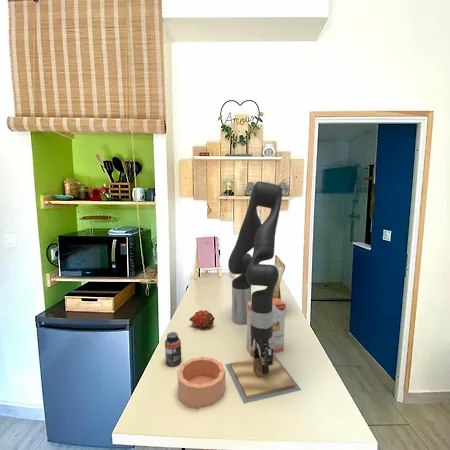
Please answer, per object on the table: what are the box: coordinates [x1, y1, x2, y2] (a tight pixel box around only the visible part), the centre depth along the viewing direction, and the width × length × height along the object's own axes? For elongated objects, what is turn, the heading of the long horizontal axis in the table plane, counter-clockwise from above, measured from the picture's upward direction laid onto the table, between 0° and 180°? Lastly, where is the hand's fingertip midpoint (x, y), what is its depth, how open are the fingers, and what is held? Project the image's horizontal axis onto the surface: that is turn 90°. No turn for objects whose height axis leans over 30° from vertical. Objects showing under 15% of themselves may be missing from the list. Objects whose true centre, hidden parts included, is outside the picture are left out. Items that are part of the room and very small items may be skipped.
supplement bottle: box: [164, 331, 182, 367], centre depth 110 cm, size 6×6×11 cm
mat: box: [225, 354, 302, 404], centre depth 101 cm, size 20×20×1 cm
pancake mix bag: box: [273, 254, 286, 301], centre depth 151 cm, size 7×19×28 cm, turn 176°
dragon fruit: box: [188, 309, 215, 330], centre depth 137 cm, size 8×8×12 cm
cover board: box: [229, 356, 295, 399], centre depth 101 cm, size 17×17×6 cm
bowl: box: [176, 356, 226, 410], centre depth 95 cm, size 15×15×7 cm
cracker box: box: [246, 298, 286, 358], centre depth 115 cm, size 14×6×21 cm, turn 105°
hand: (261, 366), depth 101 cm, fingers open, 6 cm apart
